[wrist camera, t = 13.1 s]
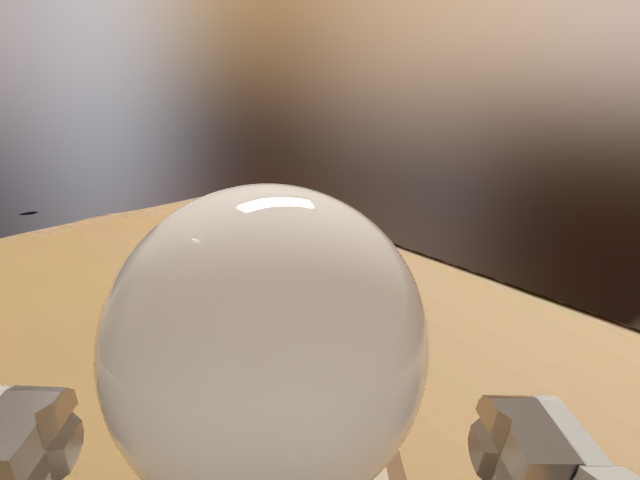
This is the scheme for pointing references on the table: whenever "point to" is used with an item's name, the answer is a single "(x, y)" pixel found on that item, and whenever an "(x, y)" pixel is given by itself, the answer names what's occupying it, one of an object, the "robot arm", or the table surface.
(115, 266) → the table surface
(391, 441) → the lightbulb
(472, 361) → the table surface
